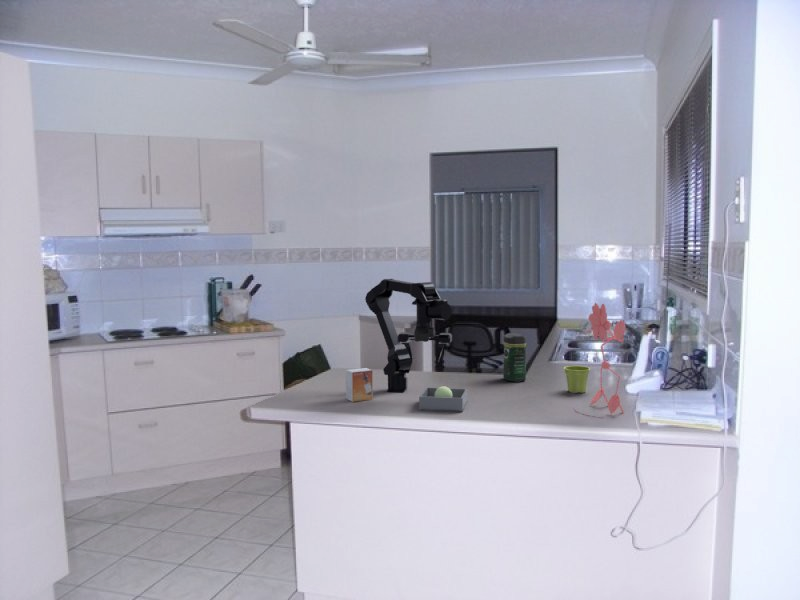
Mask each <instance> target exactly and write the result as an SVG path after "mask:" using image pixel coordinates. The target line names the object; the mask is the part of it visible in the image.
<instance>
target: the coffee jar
mask: <svg viewBox="0 0 800 600" xmlns="http://www.w3.org/2000/svg"><path fill="white" fill-rule="evenodd" d="M526 349H527V337H526V336H524V335H523V334H519V333H517V332H508V333H506V334H504V336H503V371H502V372H503V374H502V375H503V377H502V378H503V379H504V380H505V381H509V382H515V383H520V382H524V381H526V379H527V376H526V375H527V365H526V363H527V360H526V359H527V358H526V355H527V353H526V352H527V351H526Z"/></svg>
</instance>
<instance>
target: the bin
mask: <svg viewBox="0 0 800 600" xmlns="http://www.w3.org/2000/svg"><path fill="white" fill-rule="evenodd" d="M438 388H439V387H428V386H426V387H425V388H424V390H423V391H422V392H421V393H420V395H419V396H418V400H419V401H418V408H419V409H418V411H425V410H429V411H430V412H448V411H452V412H453V413H454V412H456V413H463V412H464V410H465V408H466V406H465V405H467V404H466V403H468V388H453V387H448V388H449V389H450V390H451V391H452V398H450V397H435V391H436V390H437V389H438ZM429 411H428V412H429Z"/></svg>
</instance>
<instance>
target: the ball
mask: <svg viewBox="0 0 800 600" xmlns="http://www.w3.org/2000/svg"><path fill="white" fill-rule="evenodd" d="M437 388H438V389H437V390H436V391H435V397H450V398H452V391H451V390H450V389H449V388H450V387H447V386H445V385H444V386H439V387H437Z"/></svg>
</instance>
